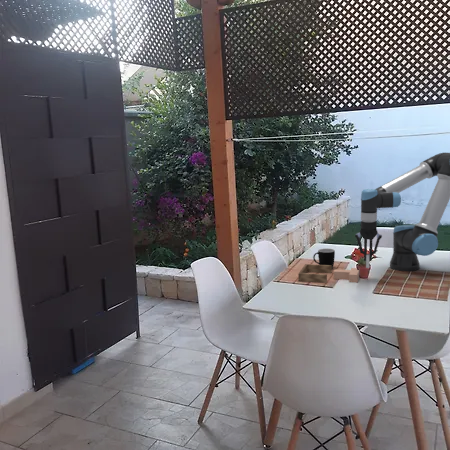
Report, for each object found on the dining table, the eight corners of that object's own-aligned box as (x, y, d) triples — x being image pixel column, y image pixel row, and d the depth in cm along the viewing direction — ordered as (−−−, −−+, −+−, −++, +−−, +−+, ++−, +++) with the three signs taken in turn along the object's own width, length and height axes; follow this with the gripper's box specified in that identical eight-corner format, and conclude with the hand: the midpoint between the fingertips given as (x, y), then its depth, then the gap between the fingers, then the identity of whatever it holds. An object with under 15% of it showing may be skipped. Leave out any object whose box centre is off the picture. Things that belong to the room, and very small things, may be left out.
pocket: (331, 272, 250) (331, 265, 250) (326, 282, 233) (326, 275, 233) (305, 271, 255) (305, 264, 255) (298, 281, 238) (298, 273, 238)
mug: (336, 266, 261) (336, 249, 260) (332, 270, 254) (332, 252, 252) (316, 264, 267) (315, 247, 265) (311, 268, 259) (310, 251, 258)
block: (359, 275, 242) (359, 268, 242) (357, 282, 231) (357, 274, 231) (335, 274, 247) (335, 267, 246) (332, 281, 235) (332, 273, 235)
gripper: (382, 219, 231) (381, 266, 235) (355, 219, 235) (355, 264, 239) (382, 222, 224) (381, 270, 228) (354, 221, 228) (353, 268, 233)
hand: (367, 267), depth 234 cm, fingers closed
